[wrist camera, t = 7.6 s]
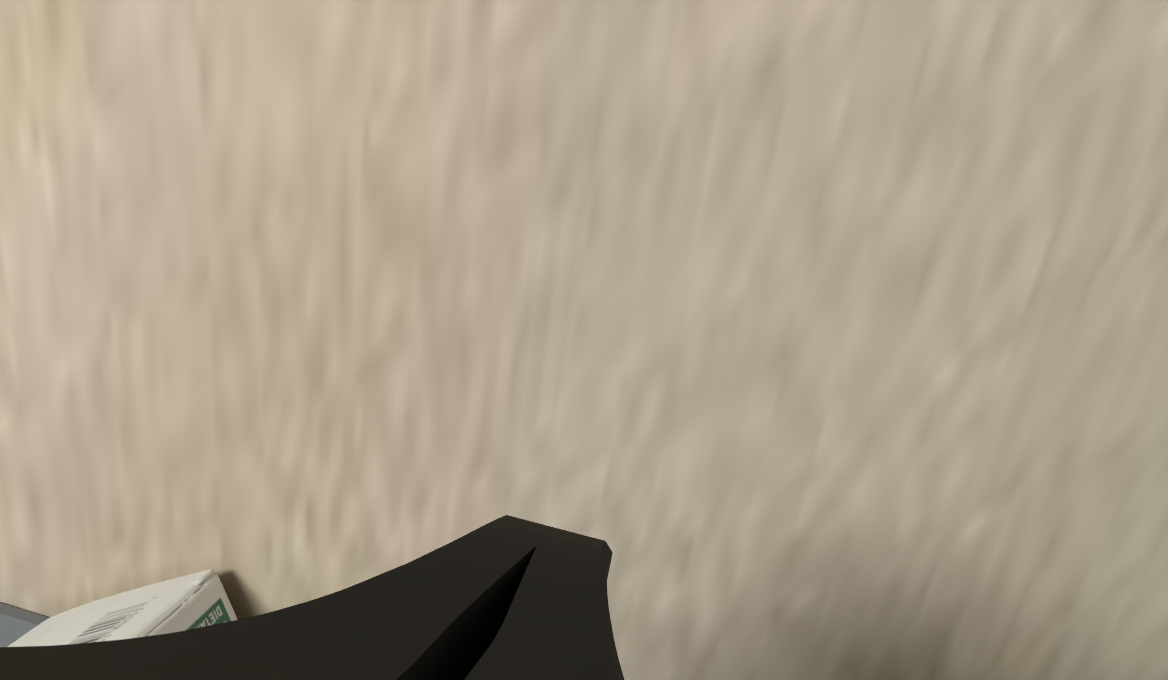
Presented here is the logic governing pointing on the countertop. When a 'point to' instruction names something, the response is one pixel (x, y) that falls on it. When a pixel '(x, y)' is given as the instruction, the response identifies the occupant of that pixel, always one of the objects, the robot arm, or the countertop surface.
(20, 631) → the mat
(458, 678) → the robot arm
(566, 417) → the countertop surface
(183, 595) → the syrup box
